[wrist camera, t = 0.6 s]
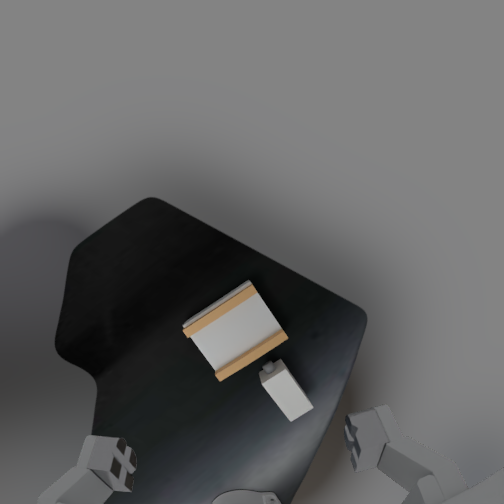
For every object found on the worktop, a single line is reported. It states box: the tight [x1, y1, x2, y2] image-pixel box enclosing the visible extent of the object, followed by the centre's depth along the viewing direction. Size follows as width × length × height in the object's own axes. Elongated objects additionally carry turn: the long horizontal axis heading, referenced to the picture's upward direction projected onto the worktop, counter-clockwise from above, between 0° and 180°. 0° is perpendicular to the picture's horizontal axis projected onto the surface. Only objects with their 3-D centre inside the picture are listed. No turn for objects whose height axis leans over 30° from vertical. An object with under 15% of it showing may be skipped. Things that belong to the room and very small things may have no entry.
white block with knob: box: [259, 359, 313, 422], centre depth 55 cm, size 12×5×6 cm, turn 33°
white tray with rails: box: [183, 280, 288, 381], centre depth 54 cm, size 12×14×6 cm
